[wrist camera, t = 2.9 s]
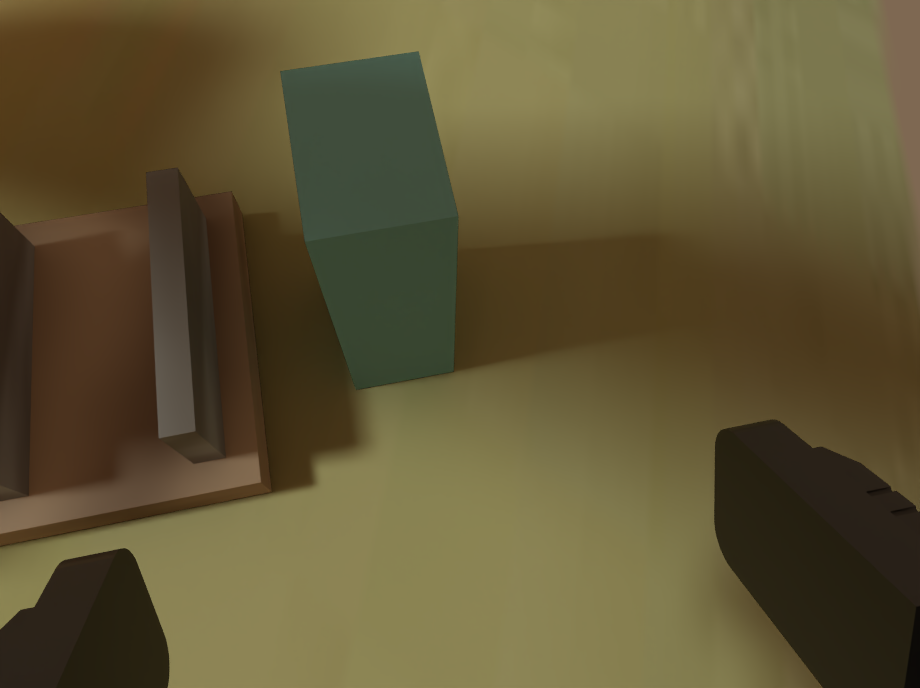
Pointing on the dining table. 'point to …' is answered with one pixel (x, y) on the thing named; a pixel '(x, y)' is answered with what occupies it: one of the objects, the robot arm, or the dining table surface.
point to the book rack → (127, 364)
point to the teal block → (377, 213)
